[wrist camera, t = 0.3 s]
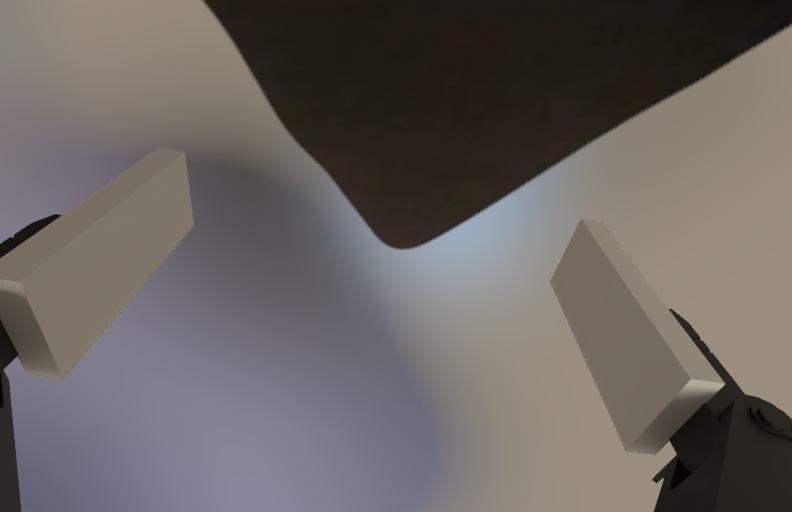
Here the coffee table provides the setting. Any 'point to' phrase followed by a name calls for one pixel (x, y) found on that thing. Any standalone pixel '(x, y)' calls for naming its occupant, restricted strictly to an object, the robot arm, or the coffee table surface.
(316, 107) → the coffee table surface
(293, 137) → the coffee table surface
